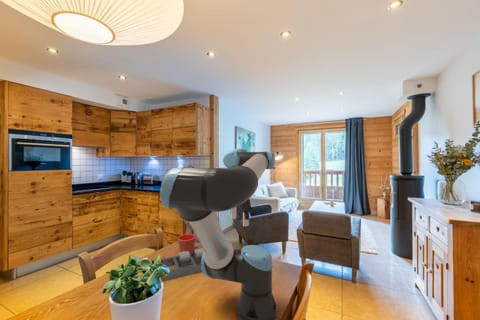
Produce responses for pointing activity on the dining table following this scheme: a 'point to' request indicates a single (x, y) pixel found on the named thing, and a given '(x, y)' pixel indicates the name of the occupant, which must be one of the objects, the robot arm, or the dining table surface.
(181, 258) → the block
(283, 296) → the dining table surface
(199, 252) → the seated nut
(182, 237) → the flower pot
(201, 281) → the dining table surface
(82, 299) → the dining table surface
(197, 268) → the grey compartment tray
